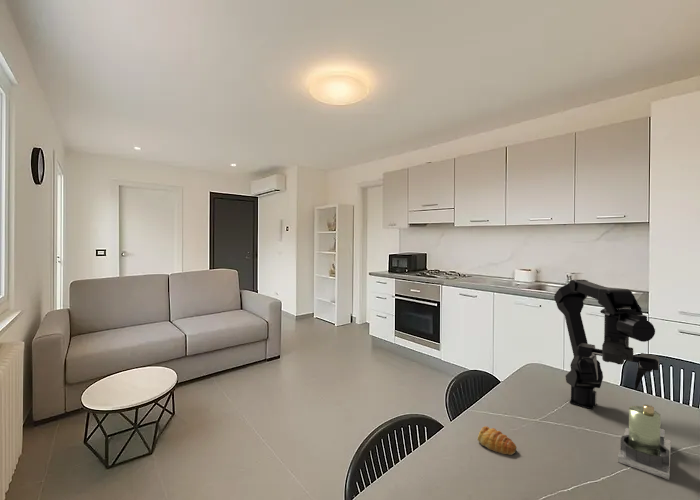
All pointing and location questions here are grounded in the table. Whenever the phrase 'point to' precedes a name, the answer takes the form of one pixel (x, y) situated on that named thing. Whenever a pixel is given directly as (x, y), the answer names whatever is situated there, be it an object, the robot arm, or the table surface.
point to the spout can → (644, 429)
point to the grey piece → (646, 457)
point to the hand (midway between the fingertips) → (615, 384)
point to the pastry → (496, 441)
